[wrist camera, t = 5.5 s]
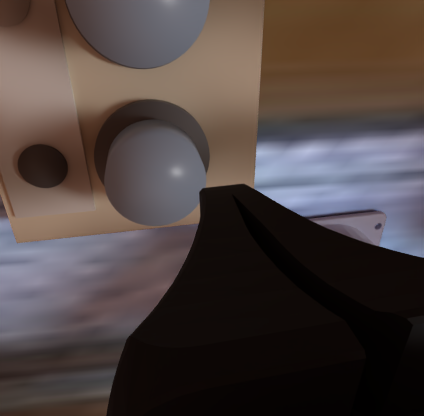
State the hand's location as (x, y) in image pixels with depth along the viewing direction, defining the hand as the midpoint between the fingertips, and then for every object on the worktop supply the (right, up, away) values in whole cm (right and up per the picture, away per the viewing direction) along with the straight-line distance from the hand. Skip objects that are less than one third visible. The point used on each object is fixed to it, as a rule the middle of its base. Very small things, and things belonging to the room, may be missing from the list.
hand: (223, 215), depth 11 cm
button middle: (-3, +7, +1) cm, 8 cm away
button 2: (-3, +2, +5) cm, 6 cm away
